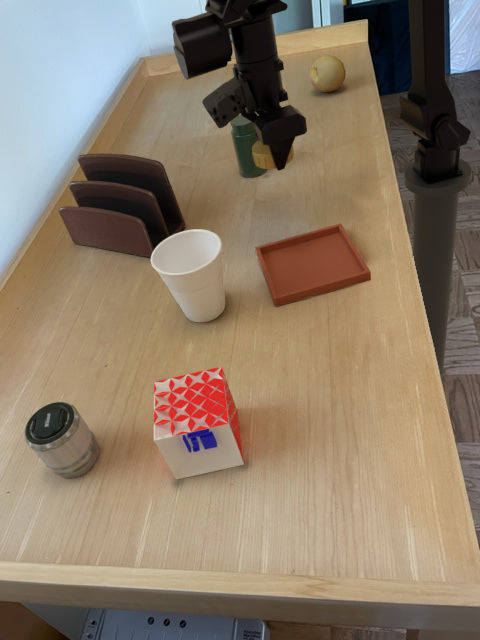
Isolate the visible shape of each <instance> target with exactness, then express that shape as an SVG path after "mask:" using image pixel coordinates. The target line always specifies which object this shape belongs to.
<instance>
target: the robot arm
mask: <svg viewBox="0 0 480 640" xmlns="http://www.w3.org/2000/svg"><path fill="white" fill-rule="evenodd" d="M288 6H289V5H288V4H287V3H286V2H284V1H282V0H206V3H205V7H204V10H205V12H203V13H200V14H197V15H194V16H191V17H187V18H179V19H176V20H172V21H171V26H172V27H171V28H172V31H173V33H172V38H173V44H174V46H173V51H174V55H175V58H176V62H177V64H178V66H179V69H180V71H181V74H182V75H183V77H184V79H185V80H187V81H188V80H191V79H194V78H197V77H200V76H202V75H206V74H209V73H213V72H214V71H217V70H221V69H224V68H226V67H227V66H228V65H229V62H232V57H233V53H234V59H235V63H233V67H232V73H233V74H232V75H233V77H232V78H230V79H229V80H228V81H225V82H223V83H222V84H221V85H219V86H218V87H217V88H216V89H214V90H213V91H212V92H210V93H209V94H208V95H207V96H205V97H204V98H203V99H202V101H201V104H202V105H203V107H204V109H205V110H206V112H207V113H208V115H209V116H210V118H211V120H212V121H213V122H214V124H215V126H216V127H217V129H222V128H224V127H226V126H228V124H230V121H232V120H233V119H234V118H236V117H237V116H238V115H242V116H243V117H245V118H246V119H248V120H250V121H251V122H252V124H253V126H254V128H255V130H256V133H255V135H256V136H257V138H258V139H259V141H261V142H262V144H263V145H268V147H269V150H270V153H271V155H272V158H273V161H274V163H275V166H276V168H275V169H276V170H277V171H278V172H279V171H283V170H285V168H286V166H287V164H286V162H287V159H288V156H289V153H290V150H291V147H292V145H293V144H294V142H295V139H296V138H297V137H299V136H303V135H306V133H307V132H308V125H307V119H306V117H305V115H303V113H302V112H301V111H300V110H299V109H298V108H296V107H295V106H293V105H291V104H287V105H285V106H282V105H281V103H283V102H286V101H288V100H289V94H288V92H287V90H285V89H284V87H283V80H282V79H283V78H282V72H281V71H285V65H284V61H282V60H281V58H280V57H279V52H278V44H277V38H276V31H275V25H274V17H273V15H276V14H278V13H282V12H285V11H287V10H288ZM408 21H409V39H410V61H411V62H410V63H411V79H412V80H411V85H410V87H409V90H408V91H407V94H403V95H400V96H399V99H398V100H399V105H400V115H399V120H401V121H402V122H403V124H404V126H405V127H406V128H408V129H409V130H411V133H412V135H413V136H414V137H417V138H419V139H418V140H417V149H415V150H414V159H413V160H414V161H413V162H414V166H413V170H414V171H415V172H416V173H417V174H418V175H419V177H421V178H422V179H423V180H424V182H425V183H426V184H433V183H436V182H440V181H444V180H447V179H451V178H454V177H458V176H461V175H463V171H462V170H461V169H460V168H459V158H460V156H461V147H462V146H464V145H466V144H467V143H468V141H469V139H470V136H471V133H472V131H471V130H470V129H469V128H468V127H466V126H465V125H463V123H461V122H460V121H459V120H458V112H457V111H458V110H457V105H456V100H455V97H454V95H453V94H452V91H451V89H450V87H449V85H448V82H447V77H446V0H408ZM460 159H461V158H460Z"/></svg>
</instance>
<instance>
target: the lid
mask: <svg viewBox="0 0 480 640" xmlns="http://www.w3.org/2000/svg"><path fill="white" fill-rule="evenodd" d="M252 154H253V159H254V162H255V165H256V166H258V167H260V168H263V169H267V170H271V169H272V170H273V169H277V168H276V166H275V163H274V161H273V158H272V155H271V153H270V150H269V147H268V145H263V144H262V142H261V141H257V142H256V143H255V144H254V145H253V147H252ZM294 155H295V153H294V145H293V144H292V147H291V150H290V153H289V156H288V159H287V162H286V165H287V164H289V163H290V162H292V160H293V159H294Z"/></svg>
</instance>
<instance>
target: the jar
mask: <svg viewBox="0 0 480 640" xmlns="http://www.w3.org/2000/svg"><path fill="white" fill-rule="evenodd" d="M229 124H230V125H231V126H230V127H231V131H230V136H231V140H232V145H233V149H234V153H235V158H236V162H237V167H238V172H239V175H240V176H241V177H243V178H247V179H249V178H250V179H251V178H258V177H259V176H261V175H263V174H265V173H266V172H267V170H268V169H263V168H260V167H258V166H256V165H255V162H254V159H253V154H252V147H253V145H254V144H255V143H256V142H257V141H259V139H258V138H257V136H256V135H255V133H256V130H255V128H254V126H253V124H252V122H251V121H250V120H248V119H246V118H245V117H243V116H242V115H241V114H239V115H238V116H237V117H236V118H234V119H233V120H232V121H230V122H229Z"/></svg>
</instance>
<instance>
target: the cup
mask: <svg viewBox="0 0 480 640" xmlns="http://www.w3.org/2000/svg"><path fill="white" fill-rule="evenodd" d="M222 249H223V241H222V239H221V237H220V236H219V235H218V234H217V233H216V232H213V231H211V230H209V229H203V228H202V229H201V228H199V229H198V228H193V229H187V230H182V231H181V232H179V233H176V234H174V235H172V236H170V237H168V238H166V239H165V240H163V241H162V242H161V243H160V244H159V245H158V246H157V247H156V248H155V249H154V251H153V252H152V255H151V258H150V265H151V267H152V268H153V269H154V270H155V271H156V272H157V273H158V275H159V277H160V278H161V279H162V280H163V282H164V284H165V285H166V288H167V289H168V290H169V292H170V293H171V295H172V297H173V298H174V300H175V301H176V302H177V305H178V306H179V307H180V309H181V310H182V312H183V314H184V315H185V317H186V318H187V319H188V320H189V321H192V322H195V323H207V322H211V321H213V320H215V319H217V318H218V317H219V316H220V315H221V314H222V313H223V312H224V310H225V309H226V294H225V283H224V282H225V281H224V272H223V259H222Z"/></svg>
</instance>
